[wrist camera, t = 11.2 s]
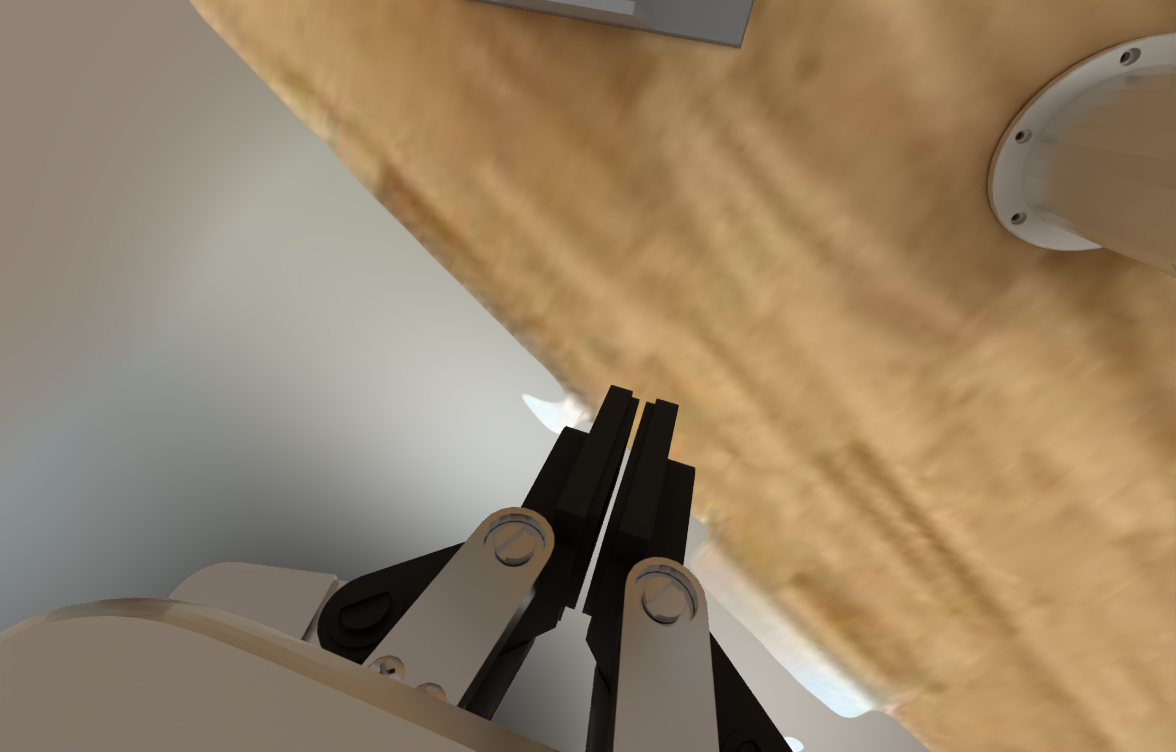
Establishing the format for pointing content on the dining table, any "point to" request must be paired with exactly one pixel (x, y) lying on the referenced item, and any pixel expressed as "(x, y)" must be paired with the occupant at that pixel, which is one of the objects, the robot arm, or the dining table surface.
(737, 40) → the board
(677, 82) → the dining table surface
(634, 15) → the card
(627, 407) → the robot arm
